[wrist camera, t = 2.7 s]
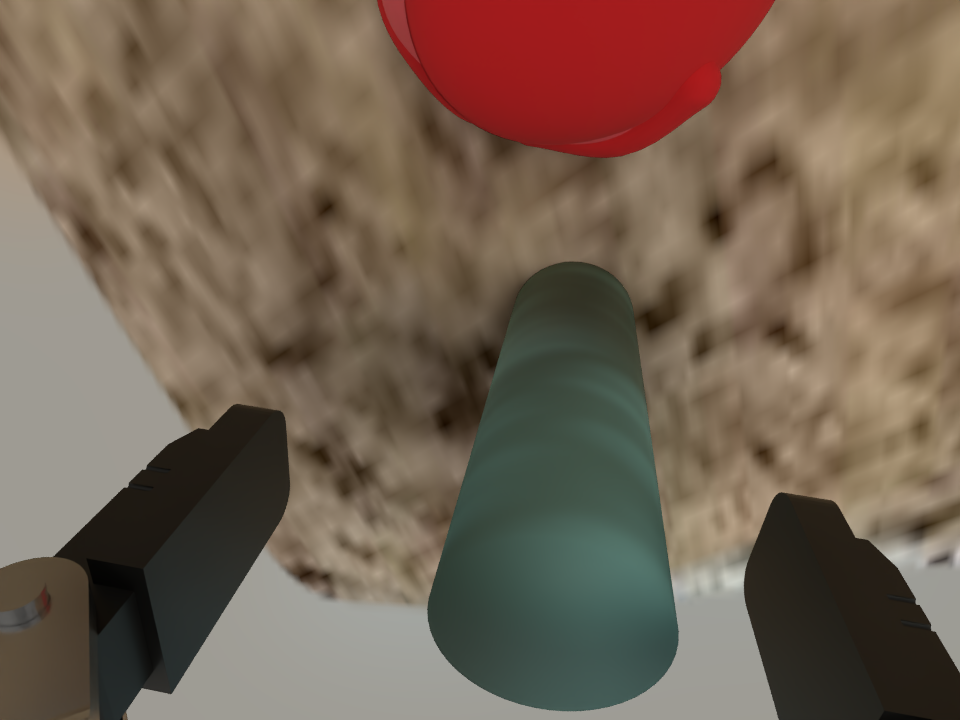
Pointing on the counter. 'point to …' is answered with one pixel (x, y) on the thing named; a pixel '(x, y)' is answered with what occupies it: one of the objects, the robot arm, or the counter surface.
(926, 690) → the robot arm
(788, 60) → the counter surface
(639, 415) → the dowel
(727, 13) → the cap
